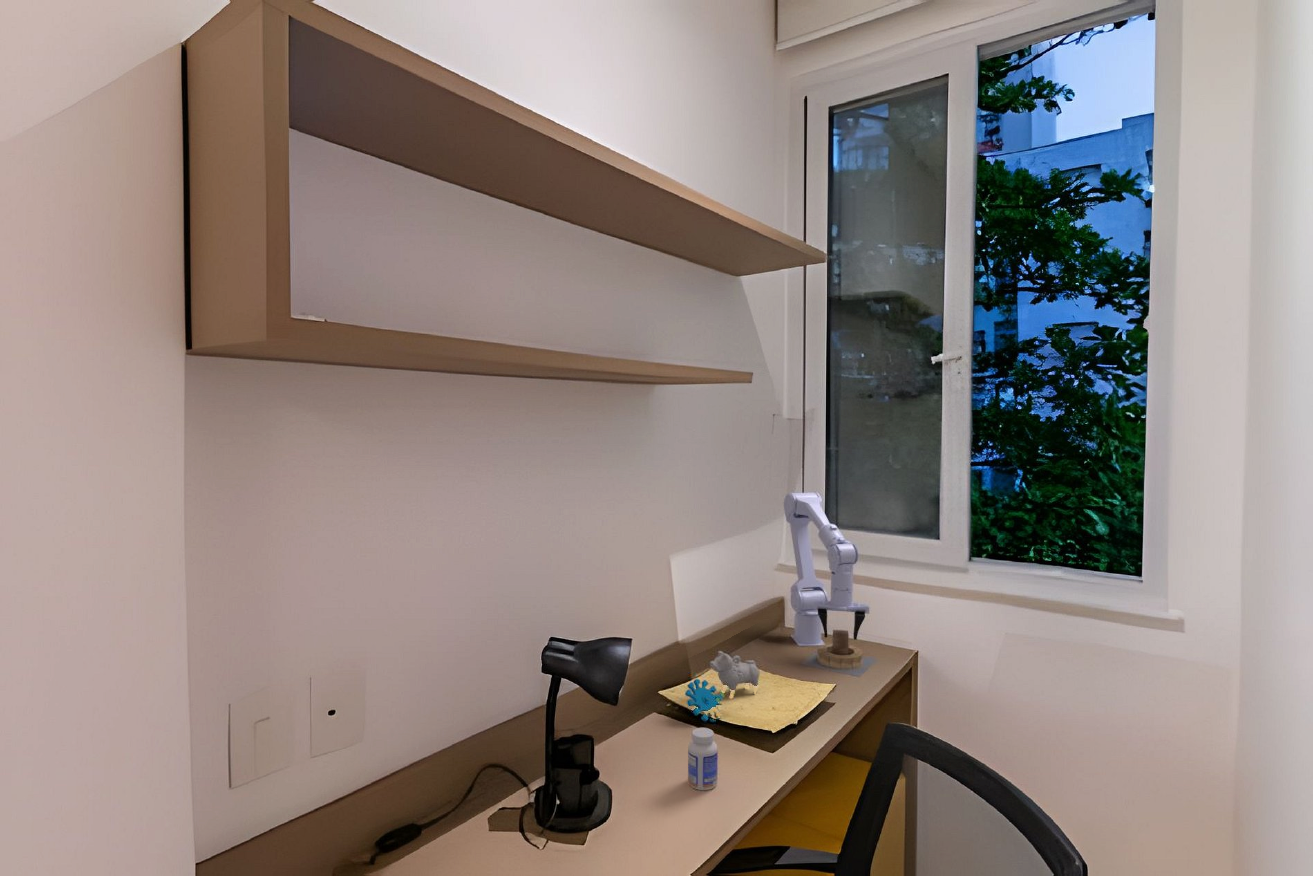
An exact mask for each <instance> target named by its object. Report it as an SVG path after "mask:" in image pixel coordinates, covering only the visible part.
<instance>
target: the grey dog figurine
mask: <svg viewBox="0 0 1313 876" xmlns="http://www.w3.org/2000/svg"><path fill="white" fill-rule="evenodd" d="M713 659H714V660H711V661H710V662H709V665H710V667H711V669H712V670H713V671H714V672H716V673H717V676H718V679H719V680H720V682H721V685H722V684H723V685H727V686H728V687H727V688H728V689H731V690H735V689H737V687H738V686H739V685H740V684H745V683H750V684H751V685H752V686H753V685H754V686H757V685H758V686H759V679H760V670H759V668H758V667H757V663H756V662H755V660H751V659H750V660H749V659H748V660H747V659H746V660H745V662H741V657H740V655H734V656H733V657H731V656H730V655H729V654H728V653H724V652H723V651H722V650H719V651H717V656H716V657H715V658H713ZM735 691H736V690H735Z"/></svg>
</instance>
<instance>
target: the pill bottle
mask: <svg viewBox="0 0 1313 876" xmlns="http://www.w3.org/2000/svg"><path fill="white" fill-rule="evenodd" d="M691 739H692V740H691V742H689V744H688V747H687V748H688V749H687V750H688V751H687V755H688V758H687V765H688V766H687V769H688V770H687V778H688V779H687V780H688V781H687V782H688V785H689V786H690V787H691V788H693V789H695V790H698V791H710V790H712V789H714V788H716V786H717V785H718V769H719V768H718V762H719V761H718V758H719V756H718V744H717V743H716V742H715V741H714V740H715V734H714V730H712V729H710V728H708V727H697V728H695V729H693V730H692V733H691Z"/></svg>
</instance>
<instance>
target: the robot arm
mask: <svg viewBox="0 0 1313 876" xmlns="http://www.w3.org/2000/svg"><path fill="white" fill-rule="evenodd" d="M783 510H784V517H785V521H786V522H787V523H789V527H790V533H791V540H792V546H793V554H794V561H795V566H796V573H797V580H796V581H795V582H794V583H793V584H792V585H791V587H790V606H791V608H792V610H793V611H794V612H795V613H794V622H793V623H794V626H793V627H794V628H793V629H794V630H793V632H794V634H791V635H790V637H791V638H792V639H793V640H794V642H795V643H796V644H797V645H798V646H799V647H802V646H803V647H809V646H811V647H813V646H814V647H817V646H818V647H820V646H821V645H824V644H826V643H825V642H824V641H823V640H822V628H823V633H824V638H828V611H831V612H832V611H833V612H834V611H835V612H849V613H850V612H851V613H854V622H853V623H854V626H853V640H854V641H855V640H858V639H857V637H858V634H859V630H860V628H861V626H862V623H863V621H864V620H865V618H866V614H867V615H869V614H870V605H869V604H865V603H864V604H863V603H859V602H858V603H857V602H853V591H854V590H853V589H854V588H853V587H854V583H853V582H854V565H855V564H857V562H858V559H859V552H858V549H857V546H856V544H855V543H854V542H851V541H849V540H846V539H845V537H844V535H843V534H842V532H841V530H839V528H838V527H837V525H836V524H835V523H830V521H829V519H828V517H827V515H826V513H825V511H824V510H823V498H822V497H821V495H820V494H819V492H817V491H813V492H788V493H787V494H786V495H785V498H784V501H783ZM810 522H812V523H813V524H814V526H815V527H816V528H817V530H818V534H817V535H818V538H819V540H820V542H822V544H823V546H824V547H825V550H827V553H826V554H827V560H828V568H829V571H830V572H831V573H830V599H829V595H828V593H827V590H826V587H825V583H823V582H822V581H820V580H819V579H818V578H817V576H816V572H815V566H814V560H813V552H812V546H811V539H810V534H809V532H810V531H809V527H808V526H809V524H810Z"/></svg>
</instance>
